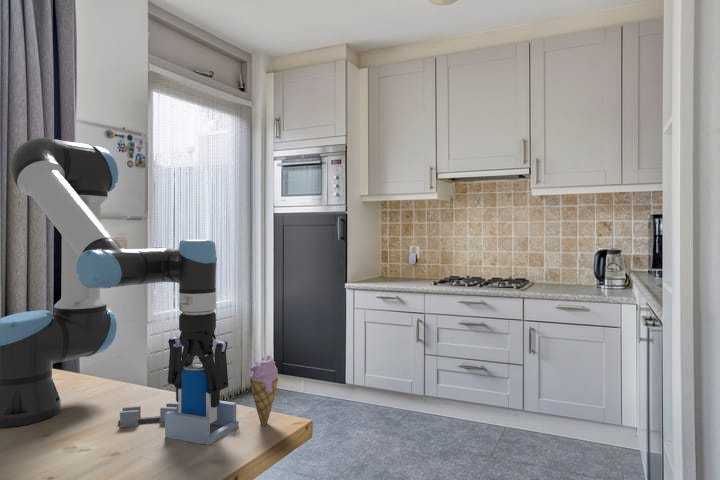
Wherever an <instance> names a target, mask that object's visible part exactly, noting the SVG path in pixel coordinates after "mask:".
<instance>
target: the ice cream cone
mask: <svg viewBox="0 0 720 480" xmlns="http://www.w3.org/2000/svg"><path fill="white" fill-rule="evenodd" d="M273 360H274V358H273V357H272V356H271V355H269V354H268V355H267V356H266V357H261V361H256V362H254V364H252V365H251V367H250V368H249V370H250V371H251V372H253V373H252V374H250V375H249V377H248V378H249V382H250V388H251V393H252V396H253V401H254V405H255V409H256V411H257V415H258V419H259V422H260V425H262V426H265V425H268V422H269V418H270V415H271V411H272V408H273V404H274V400H275V396H276V392H277V386H278V381H279V380H278V379H279V377H278V374H279V371H278V370H279V369H278V368H277V366H276V361H273Z"/></svg>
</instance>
